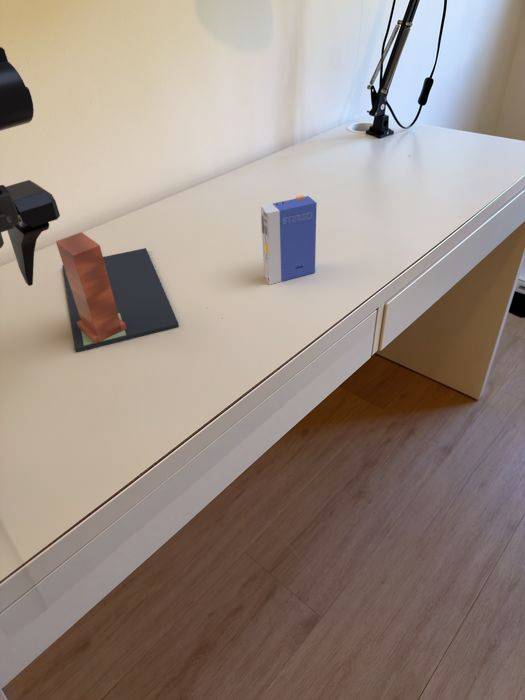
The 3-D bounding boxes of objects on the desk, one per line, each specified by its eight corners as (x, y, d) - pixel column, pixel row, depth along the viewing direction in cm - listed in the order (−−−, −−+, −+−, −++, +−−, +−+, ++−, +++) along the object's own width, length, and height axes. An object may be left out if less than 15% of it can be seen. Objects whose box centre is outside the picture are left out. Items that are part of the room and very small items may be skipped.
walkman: (307, 265, 85) (308, 193, 77) (315, 273, 83) (316, 200, 75) (262, 276, 83) (258, 203, 75) (269, 284, 81) (266, 211, 73)
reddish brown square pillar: (94, 344, 70) (67, 257, 62) (78, 327, 73) (50, 242, 65) (126, 329, 72) (104, 243, 64) (109, 313, 75) (86, 230, 67)
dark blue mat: (179, 326, 73) (178, 321, 73) (76, 352, 70) (74, 347, 69) (146, 250, 91) (145, 246, 90) (63, 268, 87) (61, 263, 87)
